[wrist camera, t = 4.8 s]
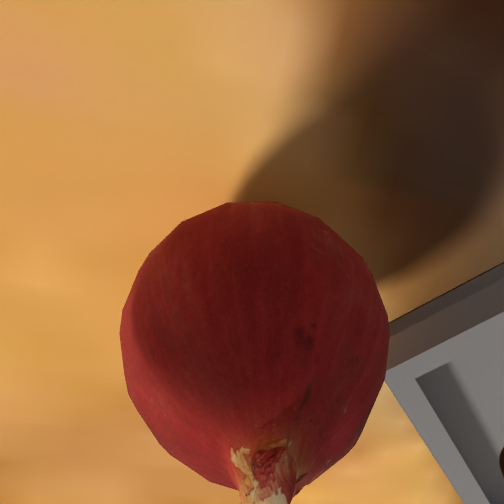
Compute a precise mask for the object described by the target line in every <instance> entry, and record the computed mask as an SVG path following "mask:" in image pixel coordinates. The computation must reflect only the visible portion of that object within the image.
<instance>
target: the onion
mask: <svg viewBox="0 0 504 504" xmlns="http://www.w3.org/2000/svg"><path fill="white" fill-rule="evenodd" d="M389 339H390V330H389V323H388V315H387V313H386V310H385V307H384V305H383V302H382V299H381V297H380V294H379V292H378V289H377V286H376V284H375V281H374V278H373V276H372V274H371V272H370V270H369V268H368V267H367V265H366V263H365V261H364V259H363V258H362V257H361V256H360V255H359V254H358V253H357V252H356V251H355V250H354V249H353V248H351V247H350V246H349V245H348V244H347V243H346V242H345V241H344V240H343V239H342V238H341V237H340V236H338V235H337V234H336V233H335V232H334V231H333V230H332V229H331V228H330V227H329V226H327V225H326V224H325V223H324V222H323V221H321V220H320V219H319V218H317V217H315V216H312V215H309V214H307V213H304V212H301V211H299V210H296V209H293V208H291V207H288V206H285V205H282V204H280V203H277V202H246V203H225V204H223V205H220V206H218V207H216V208H213V209H211V210H209V211H206V212H204V213H202V214H199V215H197V216H195V217H192V218H190V219H187V220H185V221H183V222H181V223H180V224H179V225H178V226H177V227H176V228H175V229H174V230H173V231H172V232H171V233H170V234H169V235H168V236H167V237H166V238H165V239H164V240H163V241H162V242H161V243H160V244H159V245H158V246H157V247H156V248H155V249H153V250H152V251H151V252H150V253H149V255H148V257H147V258H146V260H145V261H144V263H143V265H142V266H141V268H140V270H139V271H138V274H137V276H136V279H135V281H134V283H133V286H132V288H131V291H130V293H129V296H128V298H127V301H126V303H125V305H124V308H123V310H122V318H121V326H120V341H121V350H122V358H123V366H124V375H125V380H126V384H127V389H128V394H129V396H130V398H131V400H132V402H133V403H134V405H135V407H136V409H137V411H138V412H139V414H140V415H141V417H142V418H143V420H144V421H145V423H146V424H147V426H148V427H149V429H150V430H151V432H152V433H153V435H154V436H155V438H156V439H157V441H158V442H159V444H160V445H161V446H162V447H163V448H164V449H165V450H166V451H167V452H168V453H169V454H170V455H171V456H173V457H174V458H176V459H177V460H179V461H180V462H182V463H183V464H185V465H186V466H188V467H189V468H191V469H192V470H194V471H195V472H197V473H198V474H199V475H201V476H202V477H204V478H205V479H207V480H208V481H210V482H212V483H216V484H219V485H222V486H226V487H229V488H232V489H236V490H239V491H240V499H241V504H290V503H291V500H292V498H293V497H294V496H295V495H297V494H298V493H299V492H300V490H301V489H302V488H303V487H304V486H305V485H308V484H310V483H311V482H312V481H314V480H315V479H316V478H318V477H319V476H320V475H321V474H323V473H324V472H325V471H326V470H328V469H329V468H330V467H331V466H333V465H334V464H335V463H336V462H338V461H339V460H340V459H341V458H343V457H344V456H345V455H346V454H347V453H348V452H349V451H350V450H351V449H352V448H353V447H354V446H355V444H356V442H357V440H358V439H359V437H360V435H361V433H362V431H363V428H364V426H365V424H366V421H367V419H368V417H369V414H370V412H371V410H372V407H373V405H374V403H375V401H376V398H377V396H378V394H379V391H380V389H381V387H382V384H383V382H384V380H385V376H386V367H387V358H388V348H389Z"/></svg>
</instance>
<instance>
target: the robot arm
mask: <svg viewBox="0 0 504 504" xmlns="http://www.w3.org/2000/svg"><path fill="white" fill-rule="evenodd" d="M499 466H500V469H501V472H502V475H503V477H504V447H503V448H502V450H501V452H500V455H499Z"/></svg>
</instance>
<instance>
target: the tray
mask: <svg viewBox="0 0 504 504" xmlns="http://www.w3.org/2000/svg"><path fill="white" fill-rule="evenodd" d="M389 330H390V339H389V348H388V358H387V367H386V376H385V380H384V381H385V382H386V384H387V385H388V387H389V388H390V390H391V391H392V393H393V394H394V396H395V398H396V399H397V401H398V402H399V404H400V405H401V407H402V408H403V410H404V411H405V413H406V415H407V416H408V418H409V419H410V421H411V422H412V424H413V425H414V427H415V428H416V430H417V432H418V433H419V435H420V436H421V438H422V439H423V441H424V442H425V444H426V445H427V447H428V449H429V450H430V452H431V453H432V455H433V456H434V458H435V459H436V461H437V462H438V464H439V466H440V467H441V469H442V470H443V472H444V473H445V475H446V476H447V478H448V479H449V481H450V483H451V484H452V486H453V487H454V489H455V490H456V492H457V493H458V495H459V496H460V498H461V500H462V501H463V503H464V504H504V477H503V475H502V472H501V469H500V466H499V455H500V452H501V450H502V448H503V447H504V263H503V264H501V265H499V266H497V267H495V268H493V269H492V270H490V271H488V272H486V273H484V274H482V275H480V276H478V277H476V278H474V279H473V280H471V281H469V282H467V283H465V284H463V285H461V286H459V287H457V288H455V289H454V290H452V291H450V292H448V293H446V294H444V295H442V296H440V297H438V298H436V299H435V300H433V301H431V302H429V303H427V304H425V305H423V306H421V307H419V308H417V309H415V310H414V311H412V312H410V313H408V314H406V315H404V316H402V317H400V318H398V319H396V320H395V321H393V322H391V323H389Z"/></svg>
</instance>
